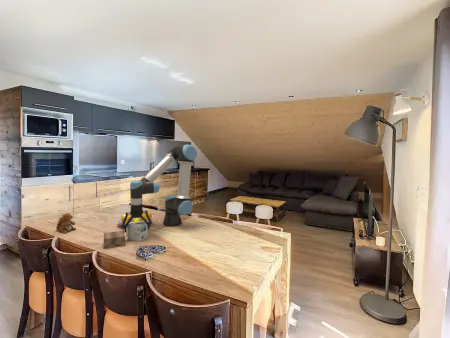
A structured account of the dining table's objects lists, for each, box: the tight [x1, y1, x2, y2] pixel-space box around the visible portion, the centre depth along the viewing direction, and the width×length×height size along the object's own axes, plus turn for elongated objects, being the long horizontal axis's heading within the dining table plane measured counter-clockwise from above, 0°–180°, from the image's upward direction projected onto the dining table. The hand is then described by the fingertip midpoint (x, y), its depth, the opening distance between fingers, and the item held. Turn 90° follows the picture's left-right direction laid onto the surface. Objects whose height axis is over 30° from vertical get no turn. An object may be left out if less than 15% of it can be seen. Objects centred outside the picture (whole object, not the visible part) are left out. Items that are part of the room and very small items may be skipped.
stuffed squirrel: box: [55, 212, 77, 234], centre depth 178 cm, size 10×14×13 cm
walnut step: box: [103, 230, 126, 250], centre depth 155 cm, size 12×12×6 cm
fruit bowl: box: [117, 210, 154, 226], centre depth 194 cm, size 28×27×11 cm
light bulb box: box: [127, 222, 147, 242], centre depth 164 cm, size 11×7×11 cm, turn 75°
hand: (137, 235), depth 164 cm, fingers closed on light bulb box, 12 cm apart
